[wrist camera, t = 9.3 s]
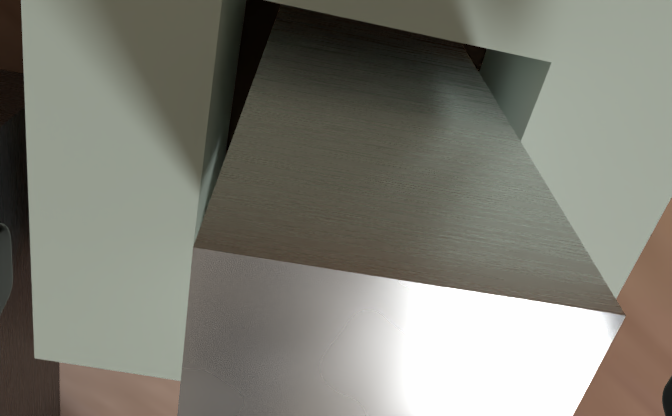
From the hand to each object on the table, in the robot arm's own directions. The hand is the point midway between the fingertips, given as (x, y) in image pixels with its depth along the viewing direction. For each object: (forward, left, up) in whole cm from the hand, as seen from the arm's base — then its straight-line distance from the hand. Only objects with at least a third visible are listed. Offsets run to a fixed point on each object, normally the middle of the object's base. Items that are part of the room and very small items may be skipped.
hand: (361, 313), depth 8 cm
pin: (0, 0, -8) cm, 8 cm away
